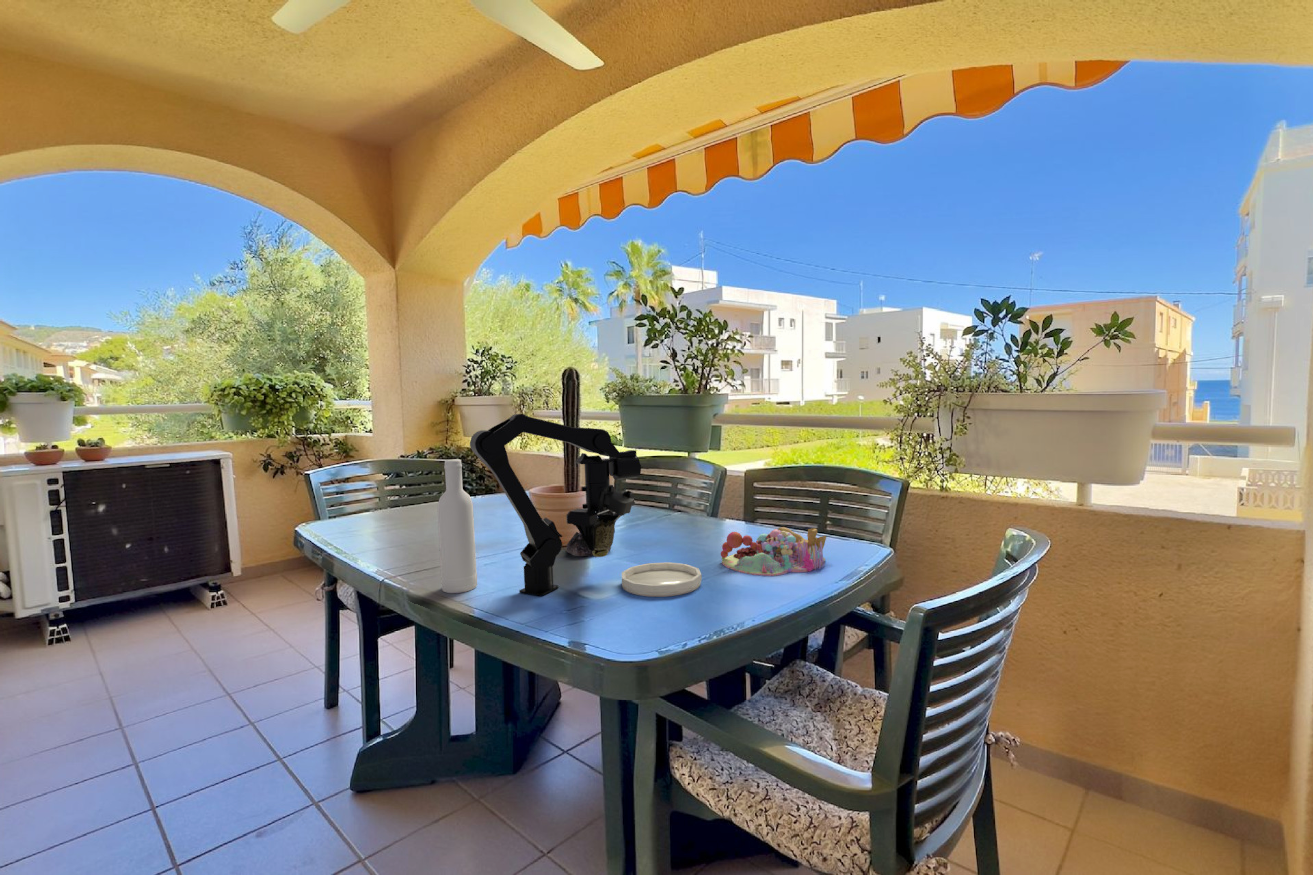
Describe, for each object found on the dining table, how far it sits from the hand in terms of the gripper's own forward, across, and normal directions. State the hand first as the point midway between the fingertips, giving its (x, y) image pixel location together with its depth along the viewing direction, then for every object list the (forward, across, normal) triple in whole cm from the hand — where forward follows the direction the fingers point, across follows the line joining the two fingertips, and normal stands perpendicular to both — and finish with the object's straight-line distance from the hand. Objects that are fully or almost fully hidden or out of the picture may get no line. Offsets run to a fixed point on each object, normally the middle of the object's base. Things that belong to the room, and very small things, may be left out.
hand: (599, 547), depth 143 cm
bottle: (+8, -17, +28) cm, 34 cm away
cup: (+2, 0, 0) cm, 2 cm away
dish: (+8, +2, -15) cm, 17 cm away
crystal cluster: (+8, +23, +18) cm, 30 cm away
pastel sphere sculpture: (+8, +28, -35) cm, 45 cm away
